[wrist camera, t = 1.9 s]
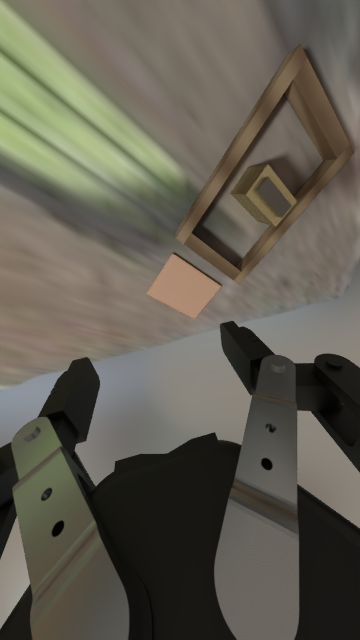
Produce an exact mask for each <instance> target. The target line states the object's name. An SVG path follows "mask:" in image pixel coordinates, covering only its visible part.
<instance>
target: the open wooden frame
mask: <svg viewBox="0 0 360 640" xmlns="http://www.w3.org/2000/svg"><path fill="white" fill-rule="evenodd" d="M283 94H284V95H285V96H286V98H287V100H288V101H289V103H290V105H291V106H292V108H293V110H294V111H295V113H296V115H297V116H298V118H299V120H300V121H301V123H302V125H303V126H304V128H305V130H306V131H307V133H308V135H309V136H310V138H311V140H312V141H313V143H314V145H315V146H316V148H317V150H318V151H319V153H320V155H321V156H322V158H323V160H324V161H323V162H322V164H321V165H320V166H319V167H318V168H317V170H316V171H315V172H314V173H313V174H312V176H311V177H310V178H309V179H308V180H307V182H306V183H305V184H304V185H303V186H302V188H301V189H300V190H299V191H298V193H297V194H296V195H295V196H294V198H295V199H296V201H297V202H296V203H295V205H294V206H293V207H292V208H291V209H290V210H289V212H288V213H287V214H286V215H285V216H284V218H283V219H282V220H281V221H280V222H279V224H278V225H277V226H276V227H275V226H271V225H270V226H269V228H268V229H267V230H266V231H265V232H264V234H263V235H262V236H261V237H260V239H259V240H258V241H257V242H256V243H255V245H254V246H253V247H252V248H251V249H250V251H249V252H248V253H247V254H246V255H245V257H244V258H243V259H242V260H241V262H240V263H239V264H238V265H237V266H236V267H235V266H234V265H232V264H231V263H230V262H228V261H227V260H226V259H225V258H223V257H222V256H221V255H219V254H218V253H217V252H216V251H214V250H213V249H212V248H210V247H209V246H208V245H207V244H205V243H204V242H203V241H201V240H200V239H199V238H198V237H196V236H195V235H194V234H192V233H191V232H192V231H193V229H194V228H195V226H196V225H197V223H198V222H199V220H200V219H201V217H202V216H203V214H204V213H205V211H206V210H207V208H208V207H209V205H210V204H211V202H212V201H213V199H214V198H215V196H216V195H217V193H218V191H219V190H220V188H221V187H222V185H223V184H224V182H225V181H226V179H227V178H228V176H229V175H230V173H231V172H232V170H233V169H234V167H235V166H236V164H237V163H238V161H239V160H240V158H241V157H242V155H243V154H244V152H245V151H246V149H247V148H248V146H249V145H250V143H251V142H252V140H253V139H254V137H255V136H256V134H257V133H258V131H259V130H260V128H261V127H262V125H263V124H264V122H265V121H266V119H267V118H268V116H269V115H270V113H271V112H272V110H273V109H274V107H275V106H276V104H277V103H278V101H279V100H280V98H281V97H282V95H283ZM353 153H354V151H353V149H352V147H351V145H350V143H349V141H348V139H347V137H346V135H345V133H344V131H343V129H342V127H341V125H340V123H339V121H338V119H337V117H336V115H335V113H334V111H333V109H332V107H331V105H330V103H329V101H328V99H327V96H326V94H325V92H324V90H323V88H322V86H321V84H320V82H319V80H318V78H317V76H316V74H315V72H314V70H313V68H312V66H311V64H310V62H309V60H308V58H307V56H306V54H305V52H304V50H303V48H302V46H301V44H300V45H299V46H298V47H296V48H295V49H294V50H293V51H292V52H291V53H289V54H288V55H287V56H286V58H285V59H284V61H283V62H282V64H281V65H280V67H279V69H278V70H277V72H276V73H275V75H274V77H273V78H272V80H271V81H270V83H269V85H268V86H267V88H266V89H265V91H264V92H263V94H262V96H261V97H260V99H259V100H258V102H257V104H256V105H255V107H254V108H253V110H252V111H251V113H250V115H249V116H248V118H247V119H246V121H245V123H244V124H243V126H242V127H241V129H240V131H239V132H238V134H237V135H236V137H235V138H234V140H233V142H232V143H231V145H230V146H229V148H228V150H227V151H226V153H225V154H224V156H223V158H222V159H221V161H220V162H219V164H218V165H217V167H216V169H215V170H214V172H213V173H212V175H211V177H210V178H209V180H208V181H207V183H206V185H205V186H204V188H203V189H202V191H201V192H200V194H199V196H198V197H197V199H196V200H195V202H194V204H193V205H192V207H191V208H190V210H189V212H188V213H187V215H186V216H185V218H184V219H183V221H182V223H181V224H180V226H179V227H178V229H177V231H176V232H175V234H174V236H175V238H176V239H177V240H179V241H180V242H181V243H183V244H184V245H186V246H187V247H188V248H190V249H191V250H192V251H194V252H195V253H197V254H198V255H199V256H201V257H202V258H203V259H205V260H206V261H208V262H209V263H210V264H212V265H213V266H215V267H216V268H217V269H219V270H220V271H221V272H223V273H224V274H226V275H227V276H228V277H230V278H231V279H232V280H234V281H235V282H237V283H238V284H240V283H241V282H242V281H243V280H244V278H245V277H246V276H247V275H248V274H249V273H250V271H251V270H252V269H253V268H254V267H255V266H256V265H257V263H258V262H259V261H260V260H261V259H262V258H263V257H264V255H265V254H266V253H267V252H268V251H269V250H270V248H271V247H272V246H273V245H274V244H275V243H276V242H277V240H278V239H279V238H280V237H281V236H282V235H283V234H284V232H285V231H286V230H287V229H288V228H289V227H290V225H291V224H292V223H293V222H294V221H295V220H296V219H297V217H298V216H299V215H300V214H301V213H302V212H303V211H304V209H305V208H306V207H307V206H308V205H309V204H310V202H311V201H312V200H313V199H314V198H315V197H316V196H317V194H318V193H319V192H320V191H321V190H322V189H323V188H324V186H325V185H326V184H327V183H328V182H329V181H330V180H331V178H332V177H333V176H334V175H335V174H336V173H337V171H338V170H339V169H340V168H341V167H342V166H343V165H344V163H345V162H346V161H347V160H348V159H349V158H350V157H351V155H352V154H353Z"/></svg>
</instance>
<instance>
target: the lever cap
mask: <svg viewBox="0 0 360 640" xmlns="http://www.w3.org/2000/svg"><path fill="white" fill-rule="evenodd" d="M230 194H231V195H232V196H233V197H234V198H235V199H236V200H237V201H238V202H239V203H240V204H241V205H242V206H243V207H244V208H245V209H246V210H247V211H248V212H249V213H250V214H251V215H252V216H253V217H254V218H255V219H256V220H257V221H258V222H261V223H265V224H268V225H271V226H275V227H276V226H277V225H278V224H279V222H280V221H281V220H282V219H283V218H284V216H285V215H286V214H287V213H288V212H289V210H290V209H291V208H292V207H293V206H294V205H295V203H296V202H297V201H296V199H295V198H294V197H293V195H292V194H291V193H290V192H289V190H288V189H287V188H286V186H285V185H284V184H283V183H282V181H281V180H280V179H279V177H278V176H277V175H276V174H275V172H274V171H273V170H272V168H271V167H270V166H269V165H268V164H265V165H259V166H253V167H248V168H247V170H246V171H245V173H244V174H243V175H242V177H241V178H240V180H239V181H238V183H237V184H236V186H235V187H234V189H233V190H232V191H231V193H230Z"/></svg>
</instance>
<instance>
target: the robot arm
mask: <svg viewBox="0 0 360 640" xmlns="http://www.w3.org/2000/svg"><path fill="white" fill-rule="evenodd" d="M220 332H221V341H222V342H221V343H222V348H223V351H224V354H225V355H226V357H227V358H228V360H229V362H230V363H231V365H232V367H233V368H234V370H235V371H236V373H237V375H238V376H239V378H240V379H241V381H242V383H243V384H244V386H245V388H246V389H247V391H248V392H249V394H250V395H253V396H252V400H251V405H250V409H249V414H248V419H247V423H246V428H245V432H244V437H243V442H242V445H239V444H237V443H234V442H230V441H224V440H217V437H216V434H215V433H211V434H208V435H204V436H201V437H197V438H194V439H191V440H189V441H187V442H186V443H184V444H182V445H181V446H179V447H178V448H176V449H174V450H173V451H171V452H169V453H167V454H139V455H135V456H132V457H129V458H125V459H122V460H118V461H115V469H114V472H112V473H111V474H110V475H108V476H107V477H106V478H104V479H103V480H102V481H101V482H100V483H99V484H98V485H97V486H95V484H94V483H93V481H92V480H91V478H90V476H89V474H88V473H87V471H86V469H85V467H84V465H83V464H82V462H81V460H80V458H79V457H78V455H77V453H76V452H75V446H76V444H77V443H81V442H84V441H86V439H87V435H88V431H89V427H90V423H91V419H92V415H93V411H94V407H95V403H96V399H97V395H98V391H99V388H100V380H99V376H98V375H97V373H96V371H95V369H94V367H93V365H92V363H91V361H90V359H89V358H87V357H85V358H81V359H77V360H73V361H72V363H71V365H70V367H69V369H68V371H65V372H64V373H63V374H62V375H61V376H60V377H59V378H58V380H57V382H56V383H55V385H54V388H53V389H52V391H51V393H50V395H49V397H48V399H47V400H46V402H45V404H44V406H43V408H42V410H41V412H40V414H39V416H38V417H37V418H36V419H34V420H32V421H30V422H29V423H27V424H26V425H24V426H23V427H22V428H21V429H20V430H19V431H18V432H17V433H16V435H15V436H14V438H13V440H12V442H10V443H8V444H7V445H5V446H3V447H1V448H0V558H1V556H2V553H3V551H4V548H5V545H6V543H7V540H8V538H9V535H10V532H11V530H12V527H13V524H14V522H15V519H16V516H17V517H18V522H19V528H20V532H21V537H22V543H23V548H24V553H25V559H26V564H27V569H28V574H29V579H30V585H29V587H28V588H27V590H26V591H25V593H24V594H23V596H22V597H21V599H20V600H19V602H18V603H17V605H16V606H15V608H14V609H13V611H12V612H11V614H10V616H9V617H8V618H7V620H6V622H5V623H4V624H3V626H2V628H1V629H0V640H360V528H358V527H357V526H356V525H354V524H353V523H351V522H350V521H349V520H347V519H346V518H344V517H343V516H342V515H340V514H339V513H337V512H336V511H334V510H333V509H332V508H330V507H329V506H327V505H326V504H325V503H323V502H322V501H321V500H319V499H318V498H316V497H315V496H314V495H312V494H311V493H309V492H308V491H306V490H305V489H304V488H302V487H301V486H299V485H298V484H297V410H302V411H311V412H312V414H313V415H314V416H315V417H316V418H317V420H318V421H319V422H320V423H321V425H322V426H323V427H324V428H325V430H326V431H327V432H328V433H329V435H330V436H331V437H332V438H333V440H334V441H335V442H336V443H337V445H338V446H339V447H340V448H341V450H342V451H343V452H344V453H345V455H346V456H347V457H348V458H349V460H350V461H351V462H352V463H353V465H354V466H355V467H356V468H357V470H358V471H359V472H360V368H359V367H358V366H356V365H355V364H354V363H352V362H351V361H350V360H348V359H346V358H344V357H342V356H339V355H335V354H321V355H318V356H317V357H316V358H315V360H314V363H303V364H302V363H300V364H296V363H293V362H292V361H291V360H290V359H288V358H287V357H284V356H280V355H275V354H274V353H273V352H272V351H271V350H270V349H269V348H268V347H267V346H266V345H265V344H264V343H263V342H262V341H261V340H260V339H259V338H258V337H257V336H256V335H255V334H254V333H253V332H252V331H251V330H250V329H248V328H245V327H238V326H237V325H236V324H235V322H234V321H229V322H225V323H222V324H220Z"/></svg>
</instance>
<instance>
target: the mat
mask: <svg viewBox="0 0 360 640" xmlns="http://www.w3.org/2000/svg"><path fill="white" fill-rule="evenodd" d="M220 287H221V285H219V284H218V283H216V282H215V281H213V280H212V279H210V278H209V277H207V276H206V275H204V274H203V273H201V272H200V271H198V270H197V269H195V268H194V267H193V266H191V265H190V264H188V263H187V262H185V261H184V260H182V259H181V258H179V257H178V256H176V255H175V254H173V253H172V255H171V256H170V258H169V259H168V261H167V262H166V264H165V265H164V267H163V268H162V270H161V271H160V273H159V274H158V276H157V278H156V279H155V281H154V282H153V284H152V285H151V287H150V288H149V290H148V291H147V294H148V295H150V296H152V297H154V298H156V299H157V300H159V301H161V302H163V303H165V304H167V305H169V306H171V307H173V308H175V309H177V310H179V311H180V312H182V313H184V314H186V315H188V316H190V317H192V318H194V319H195V318H196V316H197V315H198V314H199V313H200V312H201V310H202V309H203V308H204V307H205V305H206V304H207V303H208V302H209V301H210V299H211V298H212V297H213V296H214V295H215V293H216V292H217V291H218V290H219V289H220Z"/></svg>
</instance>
